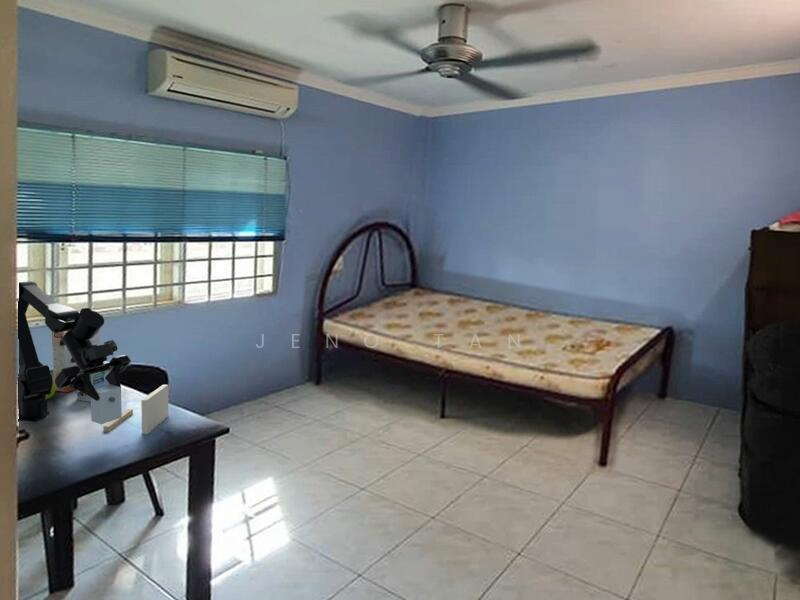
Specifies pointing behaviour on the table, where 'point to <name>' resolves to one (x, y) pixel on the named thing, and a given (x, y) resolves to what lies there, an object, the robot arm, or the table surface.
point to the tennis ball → (51, 392)
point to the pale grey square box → (106, 404)
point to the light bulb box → (94, 384)
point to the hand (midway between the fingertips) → (109, 396)
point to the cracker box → (64, 357)
